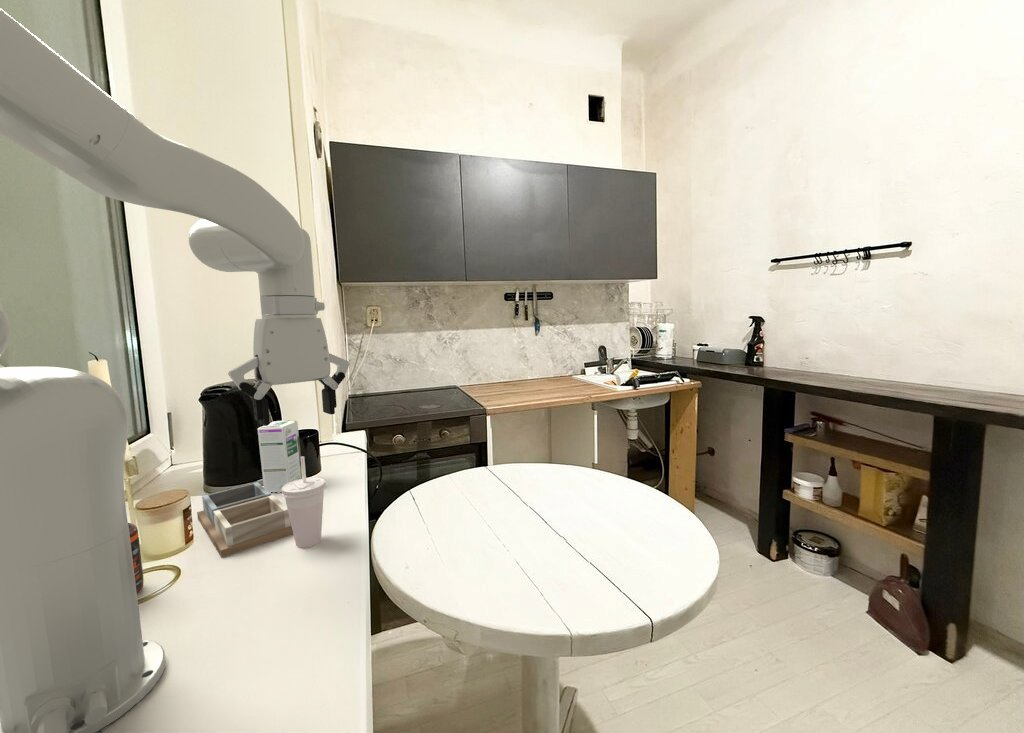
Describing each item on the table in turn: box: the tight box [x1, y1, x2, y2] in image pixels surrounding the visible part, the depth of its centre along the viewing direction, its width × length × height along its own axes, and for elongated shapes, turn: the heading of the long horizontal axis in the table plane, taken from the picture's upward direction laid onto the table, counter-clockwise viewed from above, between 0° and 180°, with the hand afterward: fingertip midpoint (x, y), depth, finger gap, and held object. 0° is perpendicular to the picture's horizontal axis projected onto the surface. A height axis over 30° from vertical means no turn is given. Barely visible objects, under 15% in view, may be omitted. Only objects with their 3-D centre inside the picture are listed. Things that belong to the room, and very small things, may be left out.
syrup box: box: [257, 419, 302, 492], centre depth 93 cm, size 6×6×14 cm
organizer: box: [196, 481, 294, 559], centre depth 76 cm, size 20×11×4 cm, turn 45°
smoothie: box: [281, 456, 327, 549], centre depth 69 cm, size 6×6×14 cm
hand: (298, 418), depth 67 cm, fingers open, 9 cm apart
